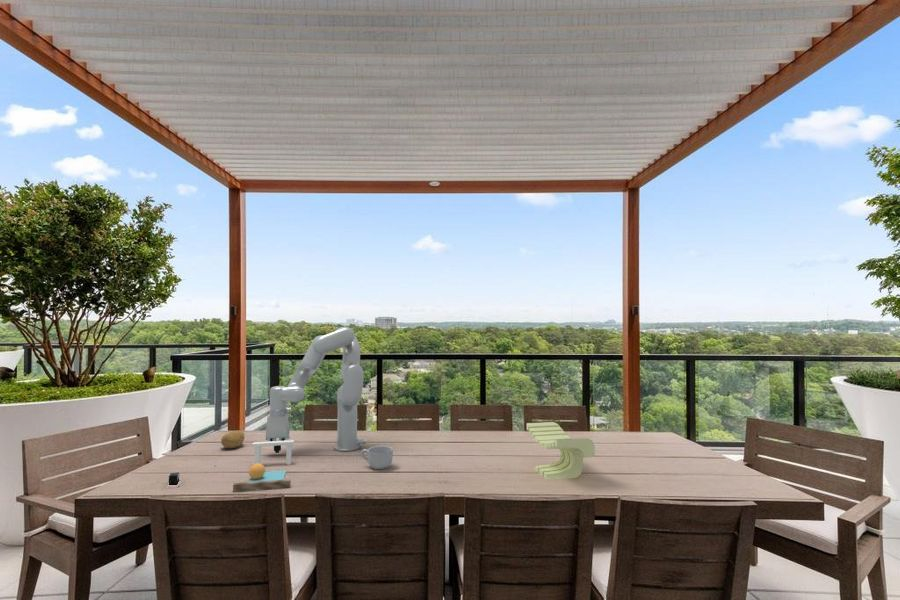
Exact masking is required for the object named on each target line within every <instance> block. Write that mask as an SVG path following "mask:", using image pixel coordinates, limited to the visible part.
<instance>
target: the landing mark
mask: <svg viewBox="0 0 900 600" xmlns="http://www.w3.org/2000/svg"><path fill="white" fill-rule="evenodd" d="M286 473H287V469H286V470H271V471H265V473H264V475H263V476H262V477H261V478H260V479H253V478H251V477H250V478H249V479H248V481H247V482H258V481H272V480H285V475H286Z"/></svg>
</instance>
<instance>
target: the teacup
mask: <svg viewBox="0 0 900 600" xmlns="http://www.w3.org/2000/svg"><path fill="white" fill-rule="evenodd" d="M393 451H394V448H393V447H391V446H388V445H375V446H371V447H369V448H363V449H362V450H361V451H360V456H361V458H362V459H364V460H365V461H366V462H367V464H368V465H369V466H370V467H371V468H372V469H374V470H377V469H382V470H386V469H388V468H389V467H390V466H391V465H392V463H393V455H394V454H393ZM364 452H366V454H367V457H366V456H365V455H364Z"/></svg>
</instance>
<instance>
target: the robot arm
mask: <svg viewBox="0 0 900 600" xmlns="http://www.w3.org/2000/svg"><path fill="white" fill-rule="evenodd" d="M338 349H342V359H341V360H342V361H341V369H340V376H341V378H342V379H343V383H342V385H340V387H339V388H338V389H337V392H336V403H337V404H336V405H337V430H336V431H337V432H336V433H337V435H336V436H337V438H336V439H337V441H336V444H335V445H333V449H334V450H335V451H338V452H350V451H356V450H359V449H360V448H361V445H366V444H367V439H364V438H363V439H359V437H358V404H359V403H360V401H361V399H362V394H363V389H364V388H363V387H364V377H365V375H364V369H363V367H362V366H361V365H360V363H361V345H360V342H359V339H358V337H356V335H355V331H354V330H353V329H352V328H350V327H346V326H341V327H338V328H337V329H336V330H335V331H333V332H329V333H326V334H324V335H323V334H322V335H317V336H315V337H314V338H313V340H312V341H311V343H310V345H309V347H308V349H307V351H306V352H305V355H304V356H303V358H302V360H301V362H300V364H299V365H298V367H297V369H296V370H295V371H294V374H293V375H292V377H291V380H290V381H289V383H288V385H287V387H286V386H285V385H276V386H275V385H274V386H272V387H270V390H269V414H268V416H267V421H266V426H265V438H264V439H265V441H266V442H269V441H277V439H278V441H288V440H289V439H290V437H291V435H290V417H289V413H290V411H291V410H290V409H288V408H287V406H288V402H290V403H291V402H292V403H296V402H300V401H301V400H303V398H304V396H305V390H304V389H305V386H306V384H307V383H308V381H309V380H310V378H311V377H312V376H313V375H314V374H315V373H316V372H317V371H318V369H319V368H320V366H321V364H322V362H323V360H324V358H325V356H326V354H328V353H330V352H333V351H337V350H338ZM273 451H274V454H279V453H280V452H281V451H282V445H277V446H273Z"/></svg>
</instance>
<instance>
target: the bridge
mask: <svg viewBox="0 0 900 600" xmlns="http://www.w3.org/2000/svg"><path fill="white" fill-rule="evenodd" d="M251 445H252V448H254V464H256V463H260V464H262V463H261V462H262V461H261V459H262V458H261V457H262V456H261V453H262V447H270V446H271V447H274V446H277V445H281V446H285V447H286V452H285V453H286V455H285V459H286V460H285V465H286V464H288V465H292V463H293V460H292V459H293V456H292V455H293V454H292V453H293V449H292V448H293V446H294V445H295V439H293V440H292V439H290V440H289V439H287V440H284V441H279V440H276V441H256V442H254V441H253V442H252V444H251Z"/></svg>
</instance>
